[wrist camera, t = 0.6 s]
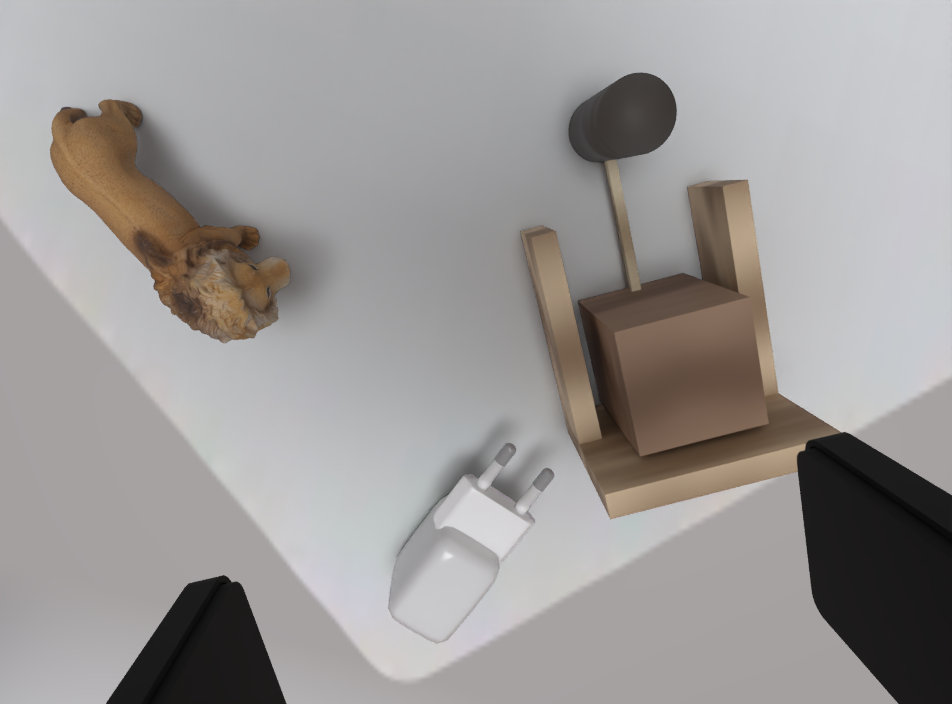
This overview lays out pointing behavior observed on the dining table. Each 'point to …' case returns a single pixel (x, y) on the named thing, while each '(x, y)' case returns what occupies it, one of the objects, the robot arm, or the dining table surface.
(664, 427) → the wooden lever toy
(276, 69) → the dining table surface
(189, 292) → the lion figurine
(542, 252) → the wooden stand
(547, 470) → the power adapter
